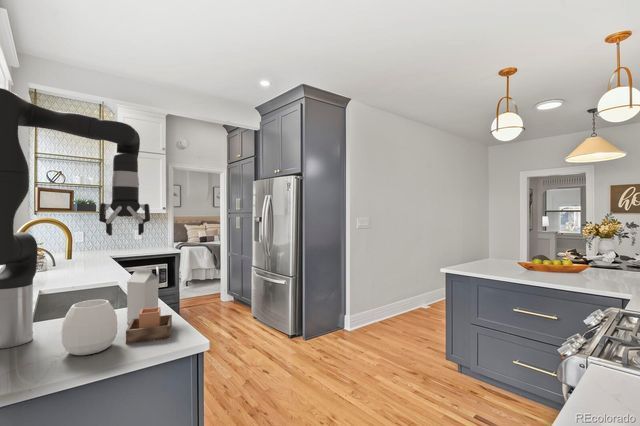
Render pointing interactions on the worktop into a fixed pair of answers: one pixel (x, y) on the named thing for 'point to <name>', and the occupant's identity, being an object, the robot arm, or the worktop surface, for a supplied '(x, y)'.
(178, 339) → the worktop surface
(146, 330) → the walnut crate
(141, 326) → the terracotta crate
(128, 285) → the milk carton
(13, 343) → the robot arm
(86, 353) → the white round vase
